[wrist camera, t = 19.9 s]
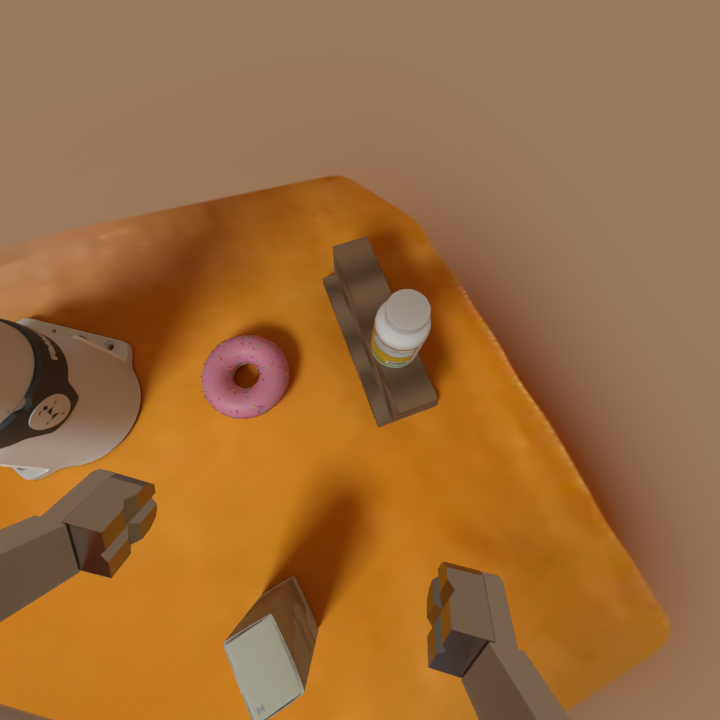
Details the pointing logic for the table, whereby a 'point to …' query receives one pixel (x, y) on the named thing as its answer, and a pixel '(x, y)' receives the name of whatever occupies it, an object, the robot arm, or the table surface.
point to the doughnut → (249, 399)
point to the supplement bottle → (401, 328)
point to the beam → (356, 319)
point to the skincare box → (273, 649)
